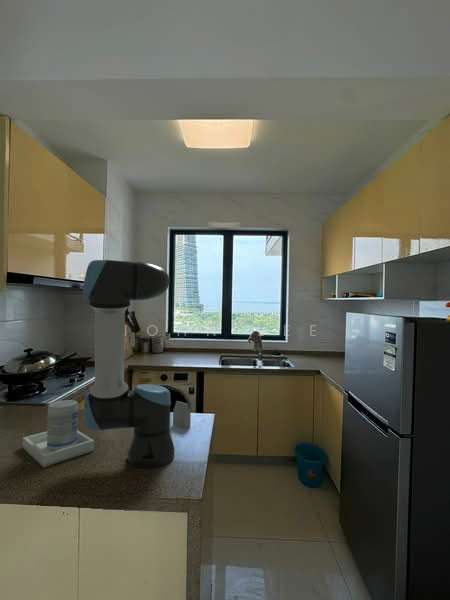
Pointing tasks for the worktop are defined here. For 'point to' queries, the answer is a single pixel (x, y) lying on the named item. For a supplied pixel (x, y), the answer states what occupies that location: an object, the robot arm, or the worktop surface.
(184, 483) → the worktop surface
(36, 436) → the tray
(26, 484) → the worktop surface
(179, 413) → the grey block
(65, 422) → the supplement tub
